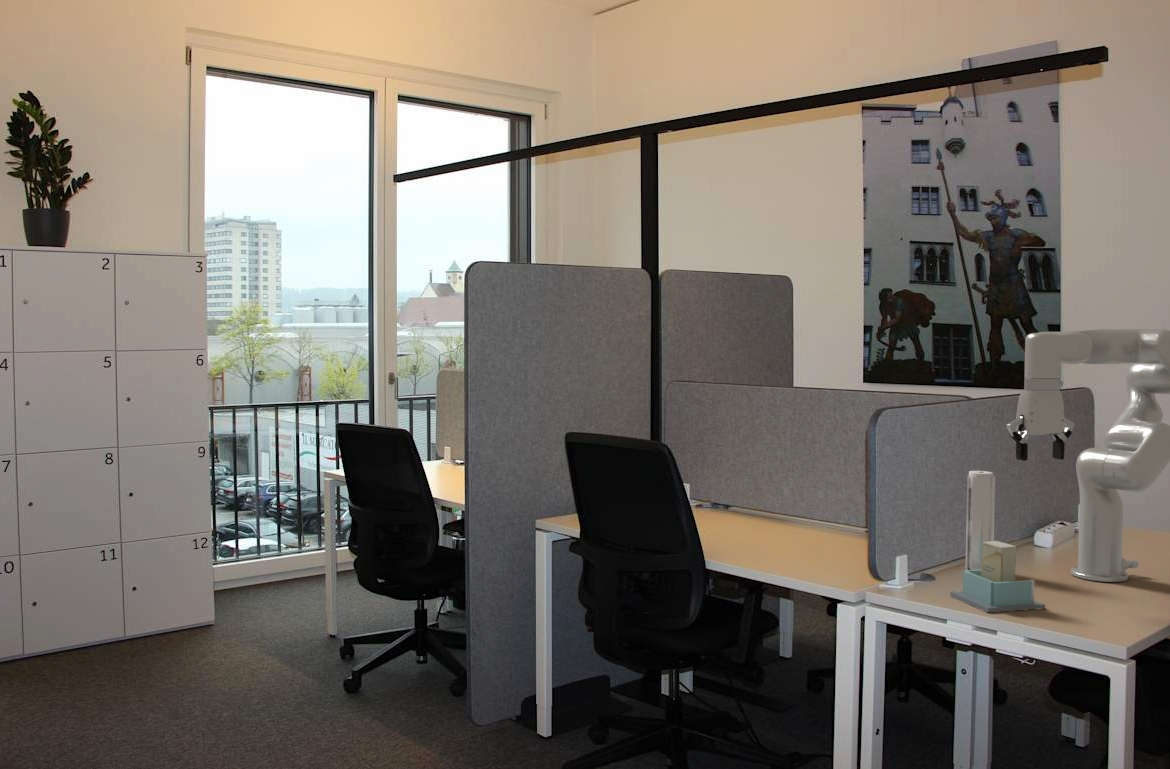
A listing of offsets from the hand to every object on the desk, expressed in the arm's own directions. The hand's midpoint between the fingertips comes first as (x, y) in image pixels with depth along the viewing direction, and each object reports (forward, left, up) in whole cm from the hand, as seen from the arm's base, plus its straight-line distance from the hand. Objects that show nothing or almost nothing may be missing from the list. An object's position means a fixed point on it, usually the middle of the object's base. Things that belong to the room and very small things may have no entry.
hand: (1040, 459), depth 233 cm
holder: (+17, +9, -30) cm, 36 cm away
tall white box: (+3, -18, -31) cm, 36 cm away
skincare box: (+17, +9, -30) cm, 35 cm away
